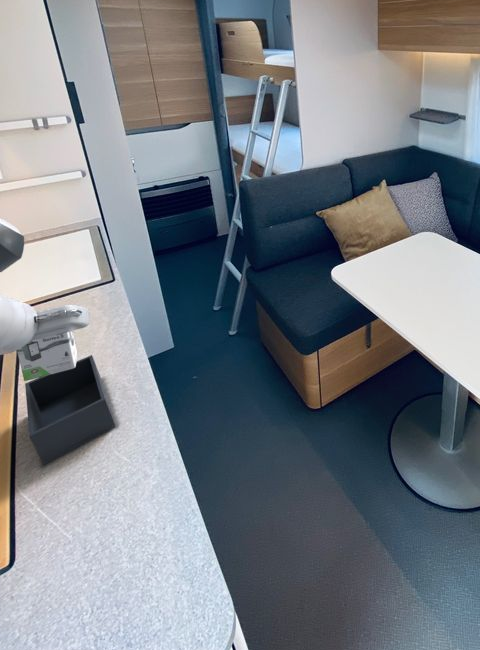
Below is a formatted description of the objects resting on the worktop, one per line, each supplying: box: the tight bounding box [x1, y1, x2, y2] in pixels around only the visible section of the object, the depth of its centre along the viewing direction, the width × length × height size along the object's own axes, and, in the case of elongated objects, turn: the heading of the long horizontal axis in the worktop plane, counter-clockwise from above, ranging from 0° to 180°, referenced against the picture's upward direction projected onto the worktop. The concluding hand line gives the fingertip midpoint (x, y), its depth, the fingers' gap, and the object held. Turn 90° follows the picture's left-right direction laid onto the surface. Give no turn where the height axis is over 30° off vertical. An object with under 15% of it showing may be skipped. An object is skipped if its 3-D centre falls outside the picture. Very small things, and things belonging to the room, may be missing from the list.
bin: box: [24, 354, 116, 465], centre depth 86 cm, size 16×12×8 cm
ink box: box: [16, 330, 79, 382], centre depth 84 cm, size 9×5×12 cm, turn 119°
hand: (39, 335), depth 81 cm, fingers closed on ink box, 8 cm apart
